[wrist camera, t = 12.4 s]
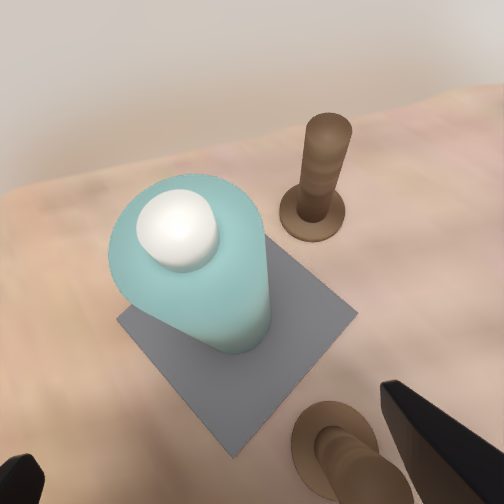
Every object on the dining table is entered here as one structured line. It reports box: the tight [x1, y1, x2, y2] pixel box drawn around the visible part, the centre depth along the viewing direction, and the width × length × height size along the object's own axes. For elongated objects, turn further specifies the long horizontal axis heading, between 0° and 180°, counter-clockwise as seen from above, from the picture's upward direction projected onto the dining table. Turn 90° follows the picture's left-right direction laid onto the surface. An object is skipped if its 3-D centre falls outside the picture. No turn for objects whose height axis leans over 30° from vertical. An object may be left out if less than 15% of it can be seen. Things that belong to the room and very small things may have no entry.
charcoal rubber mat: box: [116, 235, 358, 458], centre depth 22 cm, size 12×12×1 cm
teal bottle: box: [108, 174, 271, 354], centre depth 16 cm, size 5×5×14 cm
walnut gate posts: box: [280, 113, 414, 504], centre depth 18 cm, size 21×5×9 cm, turn 1°
